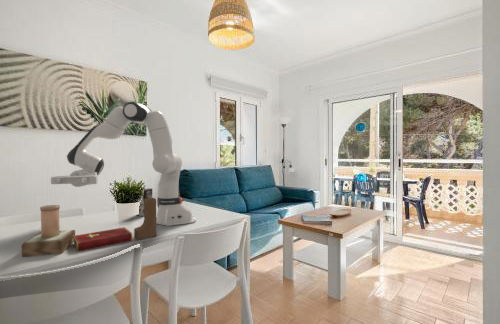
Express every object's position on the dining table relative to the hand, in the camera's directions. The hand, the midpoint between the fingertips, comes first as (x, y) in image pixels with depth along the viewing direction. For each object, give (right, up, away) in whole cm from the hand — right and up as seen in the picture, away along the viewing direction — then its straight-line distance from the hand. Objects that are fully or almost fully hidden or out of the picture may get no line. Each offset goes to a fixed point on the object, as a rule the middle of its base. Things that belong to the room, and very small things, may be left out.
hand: (70, 181), depth 129 cm
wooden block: (+39, -26, -5) cm, 47 cm away
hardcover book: (+23, -27, -12) cm, 37 cm away
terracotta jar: (+6, -21, -20) cm, 30 cm away
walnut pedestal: (+6, -26, -20) cm, 34 cm away
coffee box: (+21, -24, +39) cm, 51 cm away
